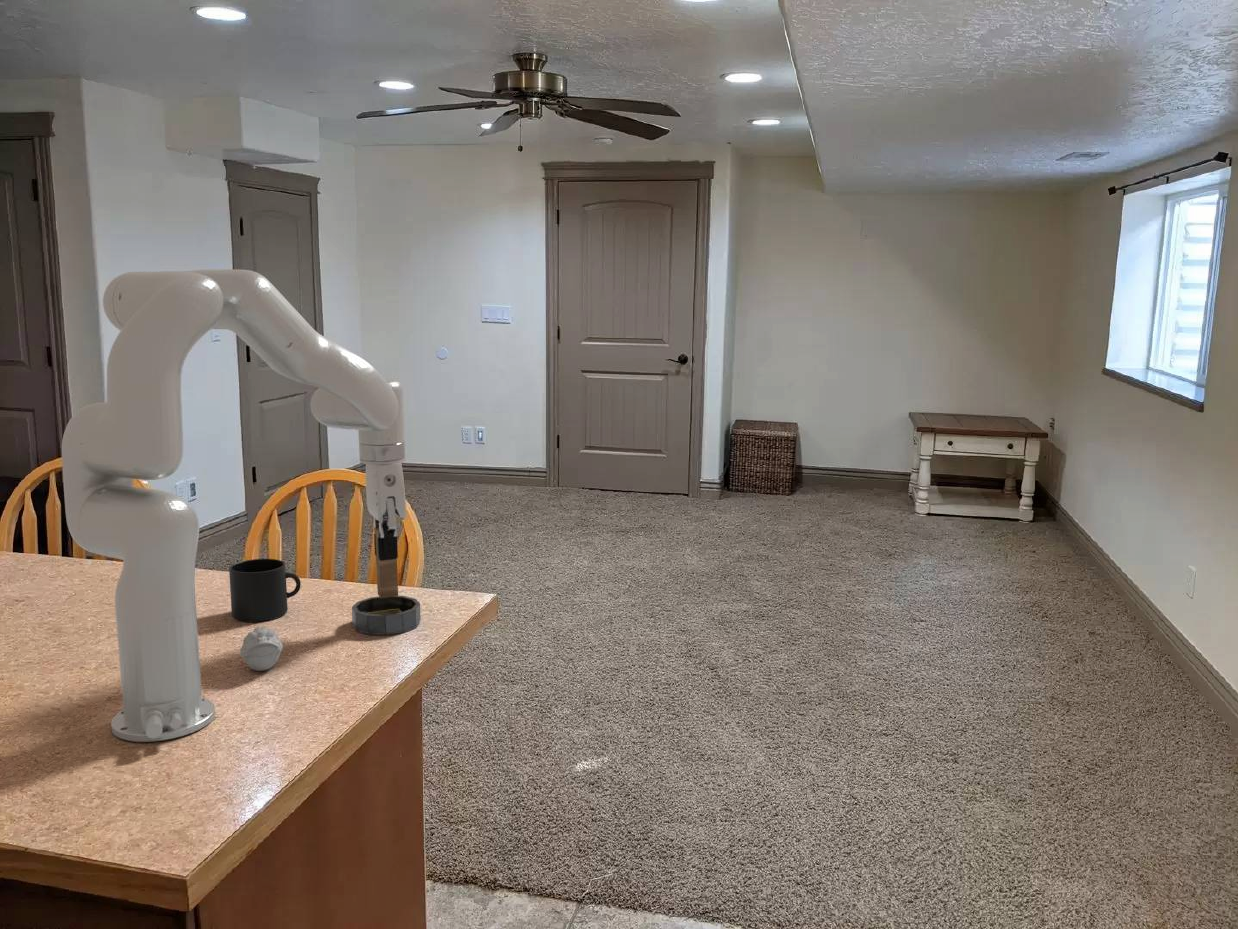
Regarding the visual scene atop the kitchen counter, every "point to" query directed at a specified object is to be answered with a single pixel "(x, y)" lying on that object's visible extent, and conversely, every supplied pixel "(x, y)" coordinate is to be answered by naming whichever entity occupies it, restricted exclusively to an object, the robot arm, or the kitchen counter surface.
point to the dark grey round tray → (386, 615)
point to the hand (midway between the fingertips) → (386, 556)
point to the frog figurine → (261, 648)
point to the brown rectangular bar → (386, 574)
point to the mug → (260, 589)
